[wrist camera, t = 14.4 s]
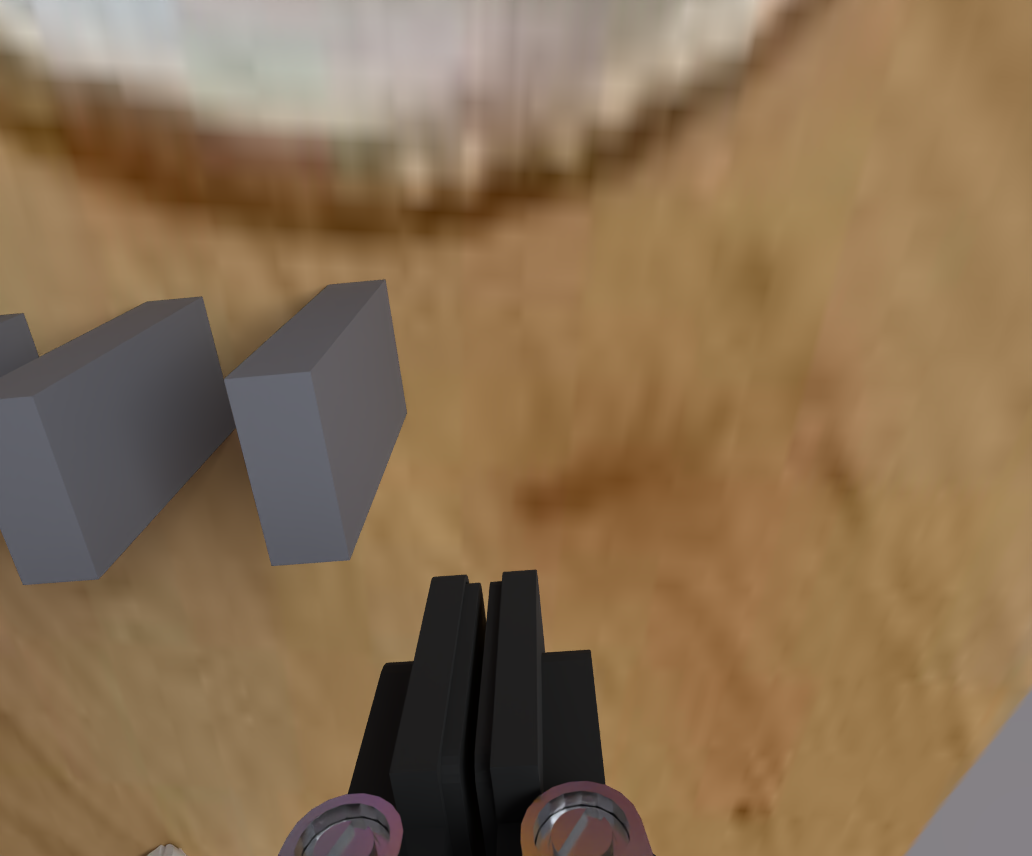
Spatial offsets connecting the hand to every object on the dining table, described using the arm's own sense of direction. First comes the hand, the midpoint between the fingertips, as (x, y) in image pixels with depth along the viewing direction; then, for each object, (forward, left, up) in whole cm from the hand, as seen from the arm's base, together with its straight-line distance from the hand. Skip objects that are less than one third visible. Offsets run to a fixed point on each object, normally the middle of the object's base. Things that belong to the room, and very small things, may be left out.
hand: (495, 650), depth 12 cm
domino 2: (+4, -3, -17) cm, 17 cm away
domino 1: (+10, -6, -17) cm, 20 cm away
